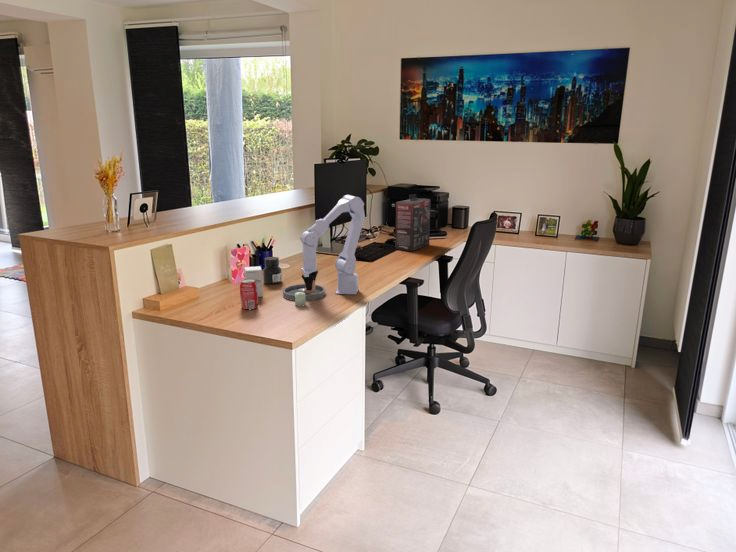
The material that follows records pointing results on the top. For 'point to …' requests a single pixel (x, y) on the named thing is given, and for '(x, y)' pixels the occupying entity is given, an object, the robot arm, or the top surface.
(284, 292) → the groove tray
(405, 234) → the headset box
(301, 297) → the sage bead
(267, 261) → the ink bottle
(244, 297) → the soda can
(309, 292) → the terracotta bead
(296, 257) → the top surface
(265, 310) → the top surface
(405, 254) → the top surface
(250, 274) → the supplement box
